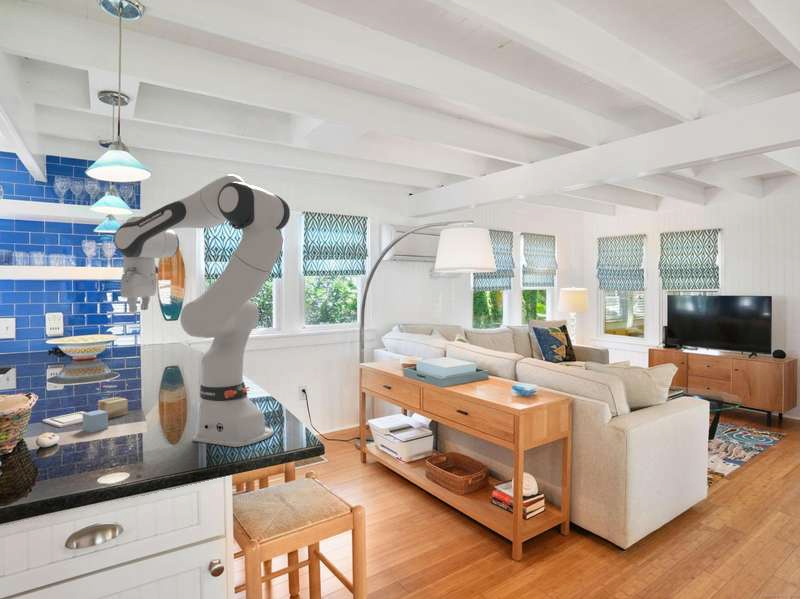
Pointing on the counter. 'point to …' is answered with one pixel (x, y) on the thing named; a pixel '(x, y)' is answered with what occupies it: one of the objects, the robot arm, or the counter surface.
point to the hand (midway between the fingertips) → (138, 310)
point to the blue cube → (95, 421)
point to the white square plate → (65, 419)
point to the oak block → (114, 406)
